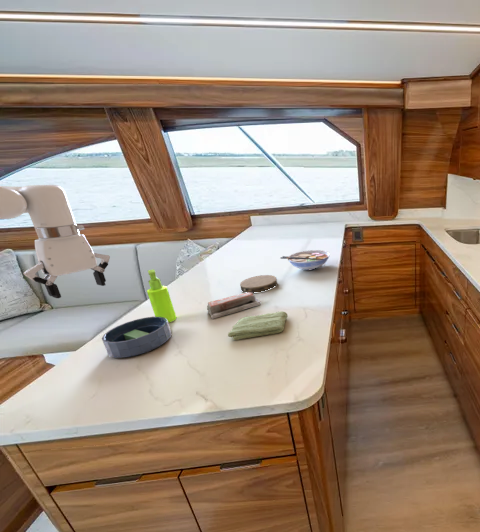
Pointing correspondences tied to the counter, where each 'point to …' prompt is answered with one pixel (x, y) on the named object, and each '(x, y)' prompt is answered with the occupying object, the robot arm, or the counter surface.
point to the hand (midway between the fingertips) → (80, 290)
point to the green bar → (134, 334)
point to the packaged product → (232, 304)
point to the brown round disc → (258, 283)
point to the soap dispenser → (160, 298)
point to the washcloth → (259, 325)
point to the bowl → (137, 346)
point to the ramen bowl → (308, 259)
